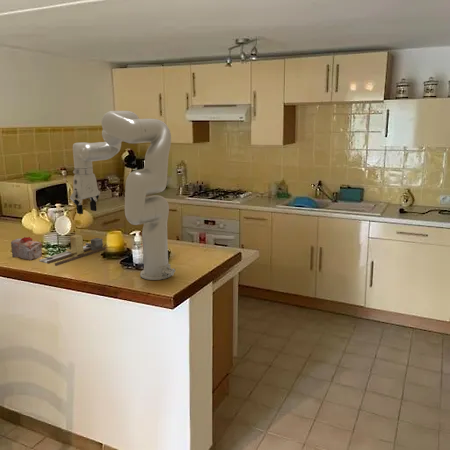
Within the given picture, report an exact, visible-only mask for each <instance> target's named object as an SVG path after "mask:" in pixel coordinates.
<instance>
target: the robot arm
mask: <svg viewBox="0 0 450 450" xmlns="http://www.w3.org/2000/svg"><path fill="white" fill-rule="evenodd" d="M100 125H101V127H102V131H101V137H102V139H103V141H98V142H87V141H85V142H84V141H83V142H75V143H73V144H72V155H73V157H72V158H73V165H74V166H73V168H74V170H73V171H72V173H73V174H74V175H73V184H72V187H73V189H72V190H73V191H72V193H71V194H70V196H69V199H70V200H71V201H72V202H73V203H74V205H75V206H76V213H77V214H79V215H83V214H84V210H83V209H84V208H83V204H82V203H83V200H86V199H90V201H89V207H90V211H92V212H96V211H97V202H98V198H99V197H100V194H101V191H100V190H99V189H98V182H97V181H98V180H97V177H96V174H95V173H94V169H93V168H94V167H93V162H98V161H106V160H110V159H112V158H113V157H115V156H116V155H117V154H119V152H120V150H121V148H122V142H124V143H128V144H143V143H144V144H145V143H150V145H149V146H148V147H147V150H146V152H145V156H144V166H143V168H140V169H136V170H132V171H131V172H130V173H129V174H128V175H127V176H126V180H125V188H124V215H125V218H126V220H127V222H128V223H129V224H131V225H134V226H140V225H142V226H143V227H142V231H141V232H142V233H141V234H142V236H141V237H142V244H143V250H142V257H143V270H140V272H139V276H140V278H141V279H144V280H148V281H159V280H166V279H169V278H170V277H173V276H174V274H175V273H176V269H175V268H171V264H170V263H169V250H168V249H169V248H168V247H169V246H168V220H169V213H170V212H169V211H170V205H169V202H168V200H167V199H166V197H164V196H162V195H157V194H158V193H161V192H164V190H166V187H167V182H168V169H169V154H170V150H171V145H172V134H171V130H170V128H169V126H168V125H167V124H166V123H165V122H164V121H163V120H160V119H158V118H139V116H138V114H137V113H135V112H134V111H130V110H109V111H107V112H105V113H104V114H103V116H102V118H101V124H100ZM154 194H155V195H154Z"/></svg>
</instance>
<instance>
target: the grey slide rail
mask: <svg viewBox="0 0 450 450" xmlns="http://www.w3.org/2000/svg"><path fill="white" fill-rule="evenodd" d="M105 249H106V250H107V248H106V247H105V246H104V245H103V238H99V237H95V238H92V239H90V243H88V242H85V244H84V245H83V250H84V254H82V255H79V256H76V257H72V253H71V252H68V251H64V252H60V253H57V254H54V255H50V256H48V257H45V258H42V259H39V262H41V263H45V264H48V265H49V264H51V263H54V266H56V267H57V266H60V265H63V264H66V263H69V262H72V261H75V260H77V259H81V258H84V257H87V256H90V255H94V254H96V253H99V252H102V251H105ZM61 260H62V261H61Z"/></svg>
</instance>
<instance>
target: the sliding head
mask: <svg viewBox="0 0 450 450" xmlns="http://www.w3.org/2000/svg"><path fill="white" fill-rule="evenodd" d="M69 239H70V248H66V249H65V252H67V251H68V252H71V253H72V256H71V258H73V257H76V256H79V255H82V254H85V252H84V250H83V246H84V241H83V235H80V234H73V235H70V236H69Z"/></svg>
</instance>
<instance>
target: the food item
mask: <svg viewBox="0 0 450 450" xmlns="http://www.w3.org/2000/svg"><path fill="white" fill-rule="evenodd" d="M10 246H11V253H12V254H11V255H12V258H20V259H23V260H29V261H32V260H36V259H40V258H41V257H43V254H42V253H43V247H42V246H43V245H42V242H41V241H37V240H33V238H32V237H30V236H28V237H26V236H24V237H22V238H16V239H13V240H11V241H10Z"/></svg>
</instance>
